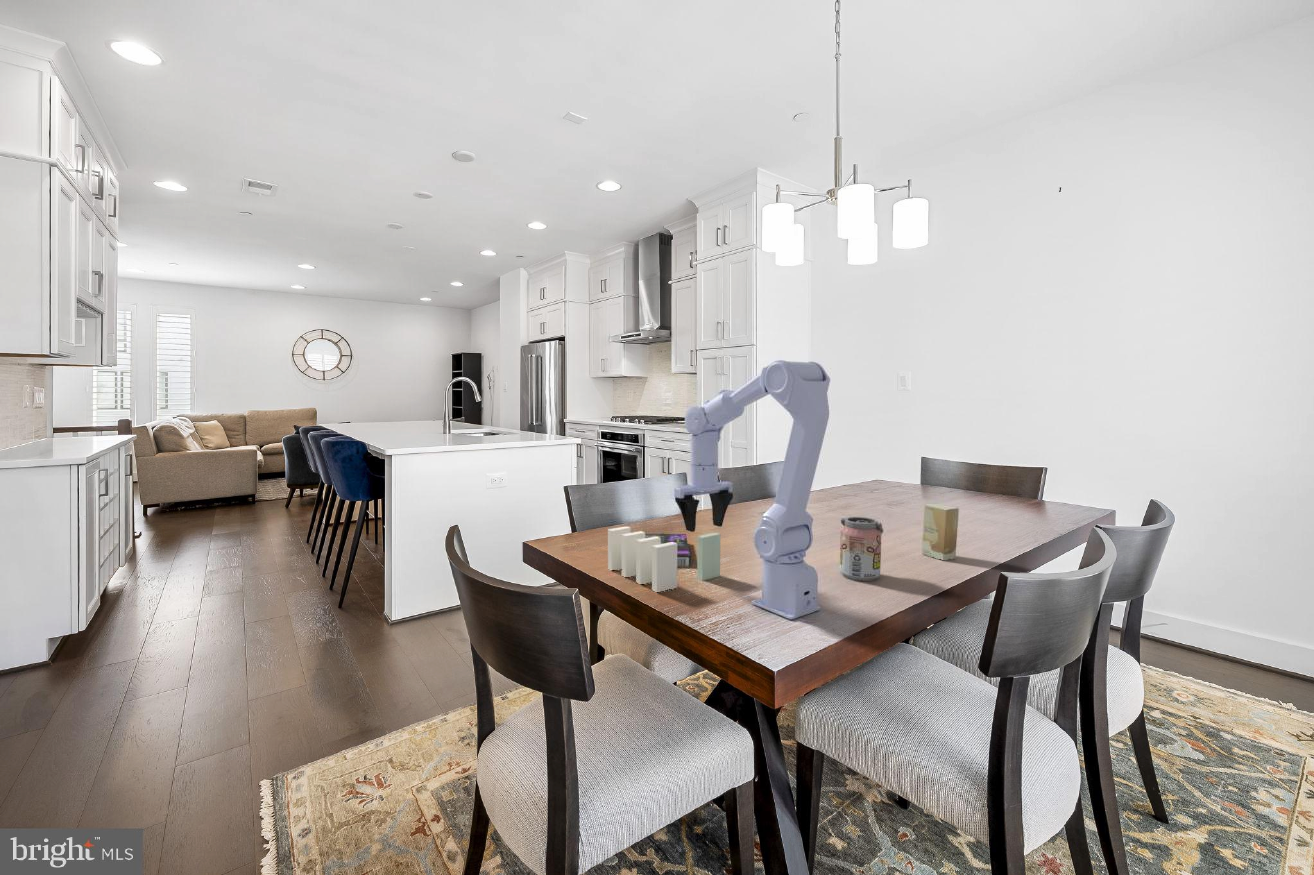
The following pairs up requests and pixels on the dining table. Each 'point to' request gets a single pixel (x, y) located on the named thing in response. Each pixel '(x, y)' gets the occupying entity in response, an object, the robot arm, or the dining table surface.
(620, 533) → the domino
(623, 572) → the domino
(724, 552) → the dining table surface
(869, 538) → the paint can
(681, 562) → the box
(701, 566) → the sage domino
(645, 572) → the domino
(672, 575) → the domino
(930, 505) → the skincare box
